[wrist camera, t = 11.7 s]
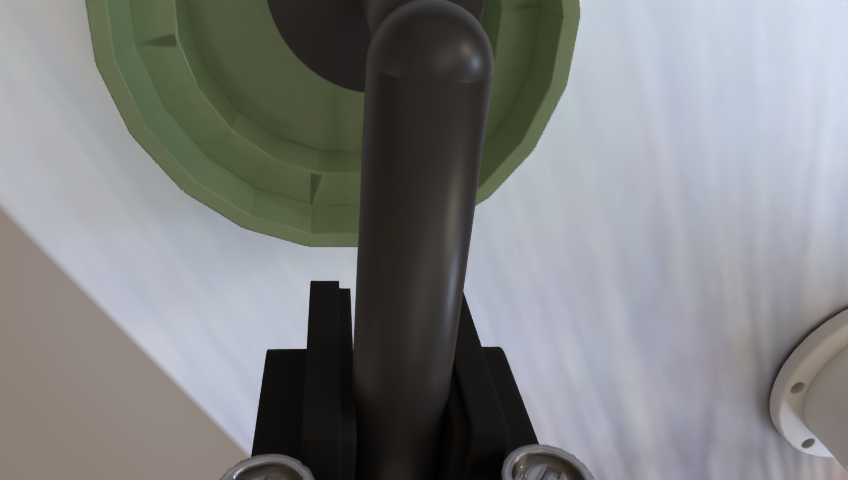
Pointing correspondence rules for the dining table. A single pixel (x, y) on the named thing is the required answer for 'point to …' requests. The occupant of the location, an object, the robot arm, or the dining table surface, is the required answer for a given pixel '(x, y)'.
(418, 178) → the ladle
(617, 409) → the dining table surface
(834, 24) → the dining table surface
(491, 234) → the dining table surface
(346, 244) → the bowl
